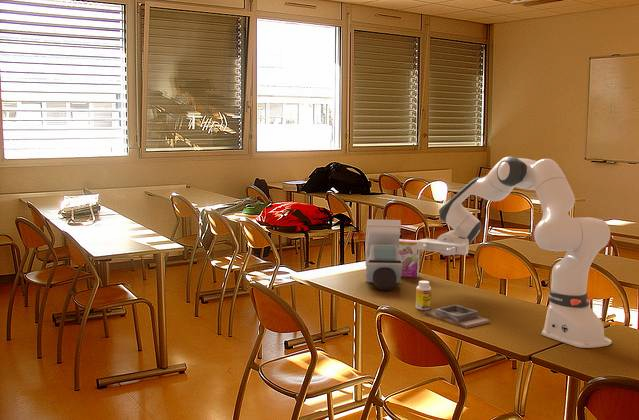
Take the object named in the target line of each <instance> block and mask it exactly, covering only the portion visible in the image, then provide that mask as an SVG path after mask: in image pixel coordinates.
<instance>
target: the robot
mask: <svg viewBox="0 0 639 420" xmlns="http://www.w3.org/2000/svg"><path fill="white" fill-rule="evenodd" d="M401 227H402V223H401V219H372V218H371V219H369V218H368V219H366V231H365V233H366V234H365V242H364V243H365V245H364V246H365V252H364V254H365V266H366V267H365V281H366V282H367V283H373V284H374V286H375V288H377V289H378V290H380V291H389V290H391V289H393V288H394V287H395V285H396V284H400V283H401V279H402V277H401V273H402V263H401V258H400V254H399V239H400V236H401Z"/></svg>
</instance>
